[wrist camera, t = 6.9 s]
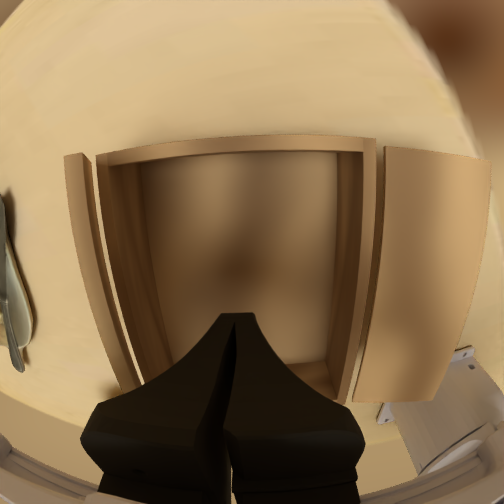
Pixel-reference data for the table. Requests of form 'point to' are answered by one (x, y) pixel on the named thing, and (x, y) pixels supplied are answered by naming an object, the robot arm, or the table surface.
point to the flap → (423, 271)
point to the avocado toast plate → (12, 300)
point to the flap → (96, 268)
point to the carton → (244, 246)
